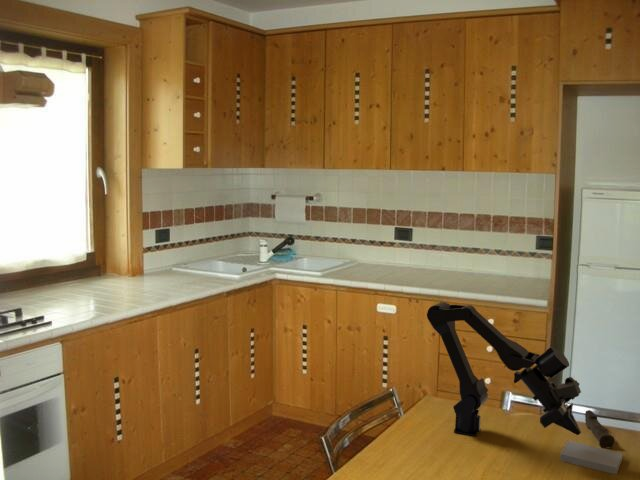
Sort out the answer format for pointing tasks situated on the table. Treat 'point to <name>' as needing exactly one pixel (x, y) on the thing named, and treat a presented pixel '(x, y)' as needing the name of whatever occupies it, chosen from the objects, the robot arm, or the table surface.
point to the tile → (591, 457)
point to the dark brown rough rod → (598, 430)
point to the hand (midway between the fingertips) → (579, 433)
